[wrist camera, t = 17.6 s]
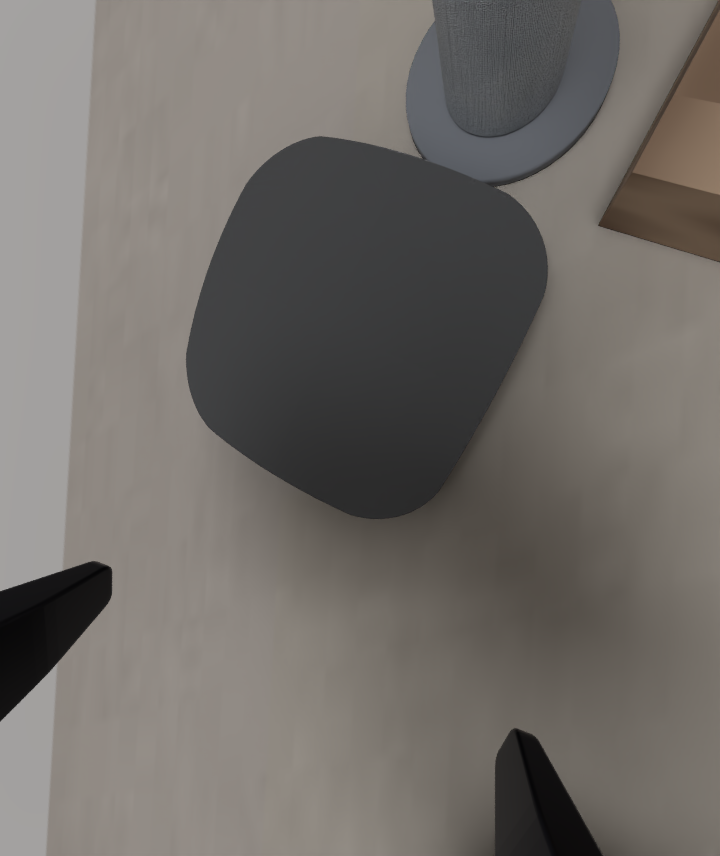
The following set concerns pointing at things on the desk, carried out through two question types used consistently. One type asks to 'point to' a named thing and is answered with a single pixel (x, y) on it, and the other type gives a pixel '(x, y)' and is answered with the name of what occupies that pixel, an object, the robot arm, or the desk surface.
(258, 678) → the desk surface
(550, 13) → the planter
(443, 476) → the media streaming box
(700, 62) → the planter holder
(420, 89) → the mat
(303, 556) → the desk surface
